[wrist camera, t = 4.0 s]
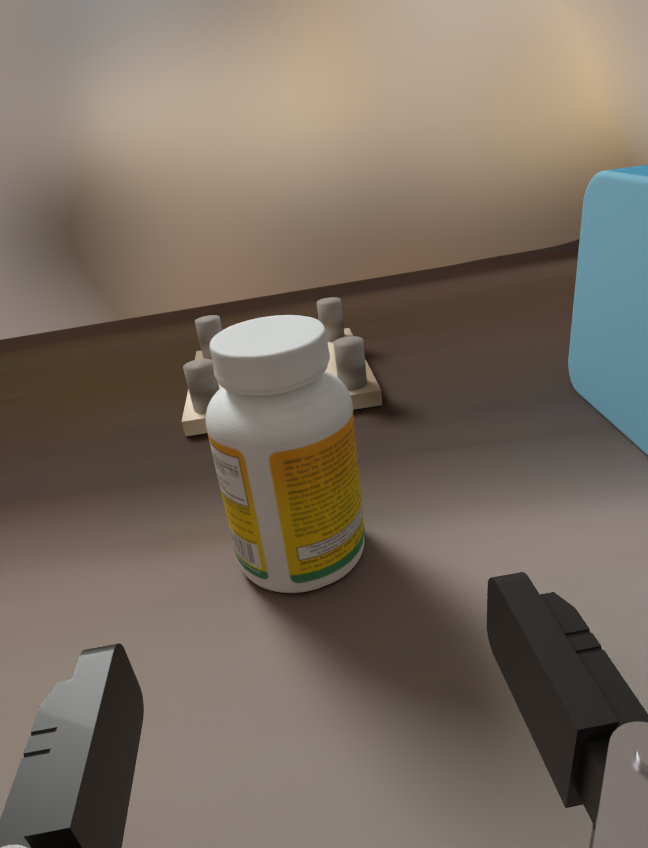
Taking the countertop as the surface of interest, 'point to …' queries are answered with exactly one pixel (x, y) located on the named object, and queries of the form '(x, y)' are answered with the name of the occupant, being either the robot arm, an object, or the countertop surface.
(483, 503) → the countertop surface
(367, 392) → the pin base
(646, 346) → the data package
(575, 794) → the robot arm
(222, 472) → the supplement bottle
